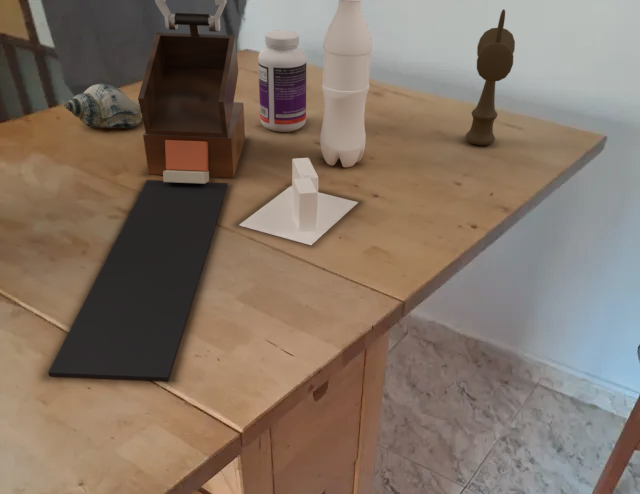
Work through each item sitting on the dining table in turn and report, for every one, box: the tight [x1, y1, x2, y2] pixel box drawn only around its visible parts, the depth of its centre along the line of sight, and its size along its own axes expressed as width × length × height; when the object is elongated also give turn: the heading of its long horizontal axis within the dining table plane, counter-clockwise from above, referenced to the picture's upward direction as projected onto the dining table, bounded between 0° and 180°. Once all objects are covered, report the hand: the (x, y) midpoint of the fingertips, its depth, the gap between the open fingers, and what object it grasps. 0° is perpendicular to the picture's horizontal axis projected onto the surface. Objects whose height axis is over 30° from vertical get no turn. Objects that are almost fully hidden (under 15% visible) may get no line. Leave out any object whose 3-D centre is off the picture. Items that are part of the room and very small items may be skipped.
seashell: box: [63, 83, 142, 130], centre depth 117 cm, size 6×8×12 cm
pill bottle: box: [257, 29, 307, 133], centre depth 116 cm, size 8×8×14 cm
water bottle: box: [319, 0, 373, 168], centre depth 102 cm, size 7×7×25 cm
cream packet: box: [162, 169, 210, 184], centre depth 101 cm, size 4×6×2 cm, turn 88°
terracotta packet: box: [165, 140, 208, 171], centre depth 101 cm, size 4×6×2 cm
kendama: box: [465, 8, 516, 146], centre depth 111 cm, size 6×10×20 cm, turn 168°
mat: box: [47, 179, 229, 382], centre depth 85 cm, size 46×12×1 cm, turn 178°
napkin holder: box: [238, 157, 359, 246], centre depth 94 cm, size 15×11×6 cm
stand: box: [142, 101, 246, 178], centre depth 108 cm, size 16×13×6 cm
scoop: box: [137, 11, 239, 138], centre depth 101 cm, size 16×12×9 cm
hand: (193, 29), depth 102 cm, fingers closed on scoop, 5 cm apart
